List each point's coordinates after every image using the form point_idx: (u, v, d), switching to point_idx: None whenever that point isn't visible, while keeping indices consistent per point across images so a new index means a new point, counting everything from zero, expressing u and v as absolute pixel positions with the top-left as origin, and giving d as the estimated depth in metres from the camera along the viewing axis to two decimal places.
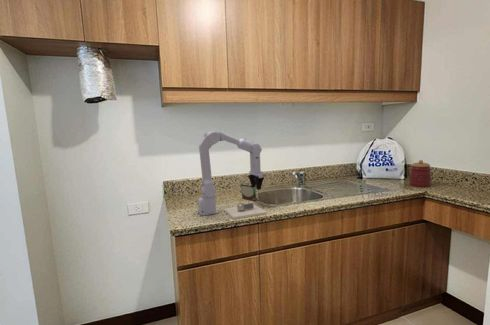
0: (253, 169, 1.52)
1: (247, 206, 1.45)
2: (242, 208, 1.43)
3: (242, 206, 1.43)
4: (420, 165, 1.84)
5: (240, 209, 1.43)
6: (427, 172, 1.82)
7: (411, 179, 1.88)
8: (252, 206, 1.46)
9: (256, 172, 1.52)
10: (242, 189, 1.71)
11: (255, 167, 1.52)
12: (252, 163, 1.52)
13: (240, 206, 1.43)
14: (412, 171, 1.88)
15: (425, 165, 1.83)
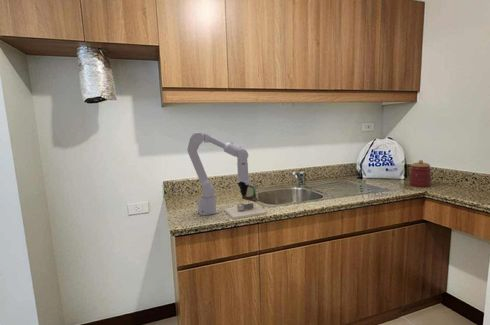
0: (240, 175, 1.46)
1: (247, 206, 1.45)
2: (242, 208, 1.43)
3: (242, 206, 1.43)
4: (420, 165, 1.84)
5: (240, 209, 1.43)
6: (427, 172, 1.82)
7: (411, 179, 1.88)
8: (252, 206, 1.46)
9: (243, 179, 1.46)
10: None
11: (242, 173, 1.46)
12: (238, 169, 1.46)
13: (240, 206, 1.43)
14: (412, 171, 1.88)
15: (425, 165, 1.83)
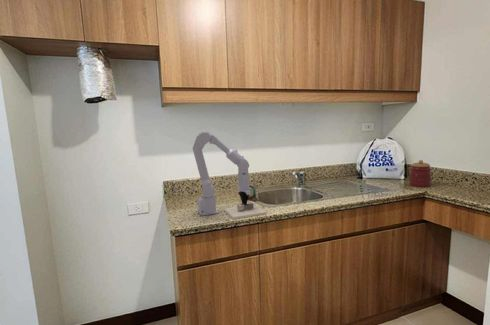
0: (241, 185, 1.46)
1: (247, 206, 1.45)
2: (242, 208, 1.43)
3: (242, 206, 1.43)
4: (420, 165, 1.84)
5: (240, 209, 1.43)
6: (427, 172, 1.82)
7: (411, 179, 1.88)
8: (252, 206, 1.46)
9: (244, 188, 1.46)
10: None
11: (243, 183, 1.46)
12: (239, 179, 1.47)
13: (240, 206, 1.43)
14: (412, 171, 1.88)
15: (425, 165, 1.83)
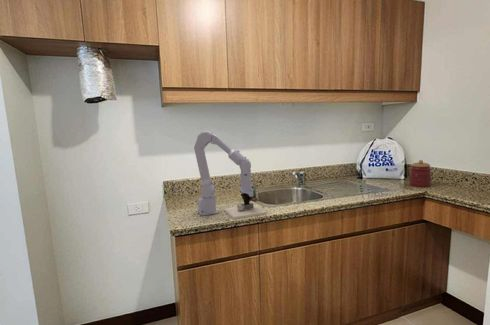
0: (244, 187, 1.43)
1: (247, 206, 1.45)
2: (242, 208, 1.43)
3: (242, 206, 1.43)
4: (420, 165, 1.84)
5: (240, 209, 1.43)
6: (427, 172, 1.82)
7: (411, 179, 1.88)
8: (252, 206, 1.46)
9: (247, 190, 1.43)
10: None
11: (246, 185, 1.43)
12: (241, 180, 1.44)
13: (240, 206, 1.43)
14: (412, 171, 1.87)
15: (425, 165, 1.83)
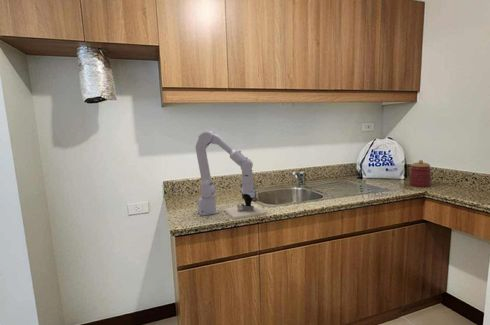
0: (245, 187, 1.41)
1: (246, 207, 1.42)
2: (240, 208, 1.43)
3: (240, 206, 1.43)
4: (420, 165, 1.84)
5: (238, 209, 1.43)
6: (427, 172, 1.82)
7: (411, 179, 1.88)
8: (252, 209, 1.41)
9: (248, 191, 1.41)
10: None
11: (247, 185, 1.40)
12: (242, 181, 1.42)
13: (238, 206, 1.43)
14: (412, 171, 1.88)
15: (425, 165, 1.83)
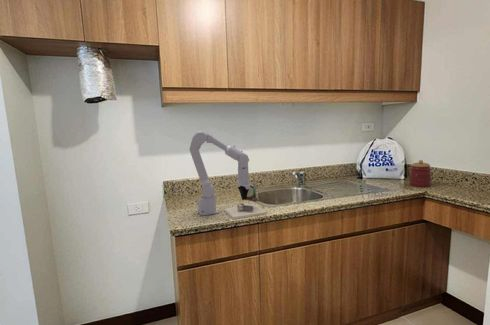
0: (241, 180, 1.46)
1: (246, 208, 1.42)
2: (239, 208, 1.43)
3: (239, 206, 1.43)
4: (420, 165, 1.84)
5: (238, 209, 1.43)
6: (427, 172, 1.82)
7: (411, 179, 1.88)
8: (251, 209, 1.41)
9: (244, 183, 1.46)
10: None
11: (243, 178, 1.46)
12: (239, 173, 1.46)
13: (238, 206, 1.43)
14: (412, 171, 1.87)
15: (425, 165, 1.83)
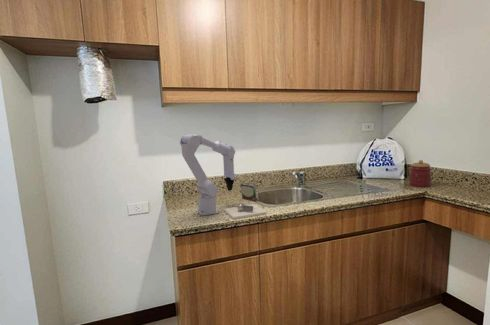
0: (226, 171, 1.53)
1: (245, 208, 1.42)
2: (239, 208, 1.43)
3: (239, 206, 1.43)
4: (420, 165, 1.84)
5: (238, 209, 1.43)
6: (427, 172, 1.82)
7: (411, 179, 1.88)
8: (251, 209, 1.41)
9: (229, 174, 1.53)
10: (242, 189, 1.72)
11: (228, 169, 1.53)
12: (227, 165, 1.53)
13: (238, 206, 1.43)
14: (412, 171, 1.87)
15: (425, 165, 1.83)
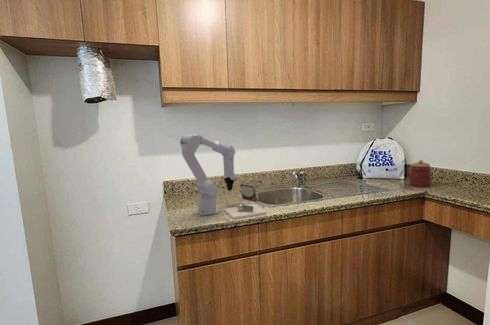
0: (226, 171, 1.53)
1: (245, 208, 1.42)
2: (239, 208, 1.43)
3: (239, 206, 1.43)
4: (420, 165, 1.84)
5: (238, 209, 1.43)
6: (427, 172, 1.82)
7: (411, 179, 1.88)
8: (251, 209, 1.41)
9: (229, 174, 1.53)
10: (242, 189, 1.71)
11: (228, 169, 1.53)
12: (227, 165, 1.53)
13: (238, 206, 1.43)
14: (412, 171, 1.87)
15: (425, 165, 1.83)
